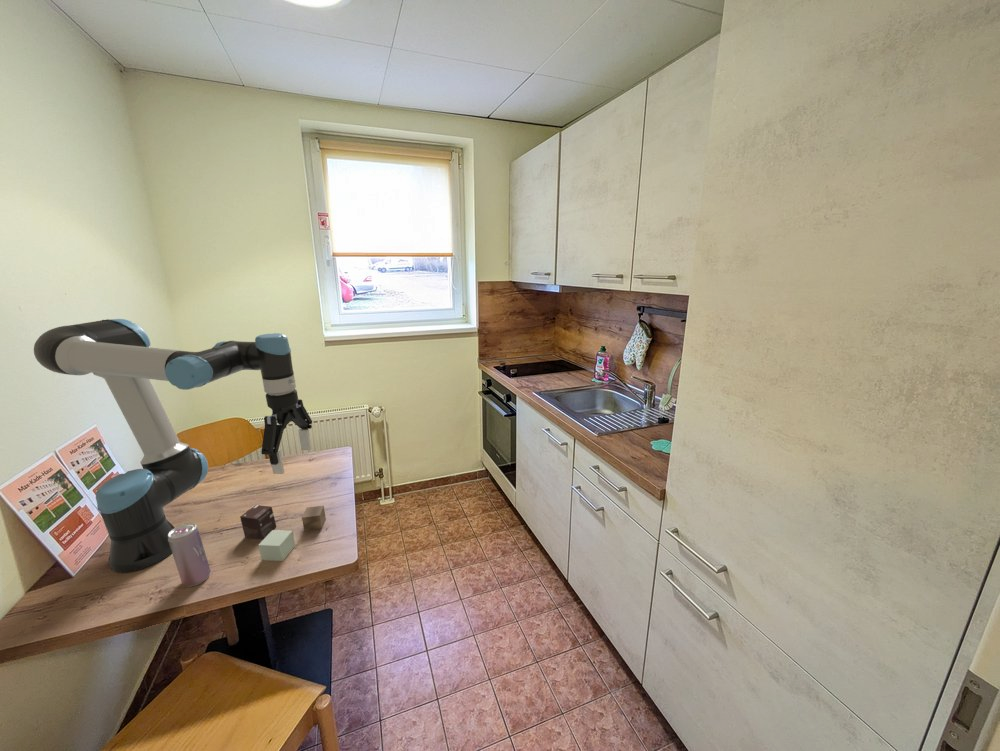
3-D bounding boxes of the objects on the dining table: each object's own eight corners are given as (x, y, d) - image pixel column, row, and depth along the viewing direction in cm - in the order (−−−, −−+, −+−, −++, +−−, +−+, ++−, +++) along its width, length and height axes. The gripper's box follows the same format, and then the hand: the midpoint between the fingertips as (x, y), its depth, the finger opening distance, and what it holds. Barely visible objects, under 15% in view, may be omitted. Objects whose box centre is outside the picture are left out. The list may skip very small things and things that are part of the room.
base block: (261, 560, 106) (258, 545, 105) (275, 544, 112) (272, 530, 111) (282, 561, 106) (279, 545, 104) (295, 545, 112) (292, 530, 110)
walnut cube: (304, 531, 117) (301, 517, 116) (309, 521, 122) (306, 507, 121) (322, 529, 118) (319, 515, 117) (326, 519, 123) (323, 505, 122)
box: (261, 540, 114) (256, 519, 112) (244, 537, 115) (239, 516, 113) (277, 526, 120) (272, 506, 118) (260, 524, 121) (255, 504, 119)
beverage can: (193, 570, 103) (178, 523, 99) (216, 569, 104) (202, 521, 99) (176, 588, 98) (160, 539, 93) (201, 587, 98) (186, 537, 94)
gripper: (264, 408, 93) (279, 485, 99) (318, 377, 117) (327, 441, 123) (234, 407, 94) (251, 484, 100) (294, 377, 118) (304, 440, 124)
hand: (293, 460), depth 112 cm, fingers open, 13 cm apart
